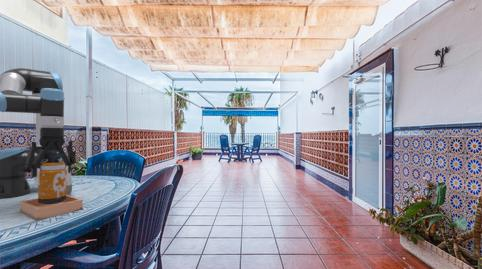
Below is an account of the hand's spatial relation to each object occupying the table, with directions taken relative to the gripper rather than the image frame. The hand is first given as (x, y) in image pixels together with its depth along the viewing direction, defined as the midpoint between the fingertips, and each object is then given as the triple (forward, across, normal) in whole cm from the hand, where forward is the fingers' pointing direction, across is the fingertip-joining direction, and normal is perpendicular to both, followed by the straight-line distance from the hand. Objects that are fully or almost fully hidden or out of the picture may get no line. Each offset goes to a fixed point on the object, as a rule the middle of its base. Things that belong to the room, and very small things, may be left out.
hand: (52, 183), depth 96 cm
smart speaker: (+11, +11, +21) cm, 26 cm away
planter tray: (+11, 0, 0) cm, 11 cm away
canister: (+8, 0, 0) cm, 8 cm away
